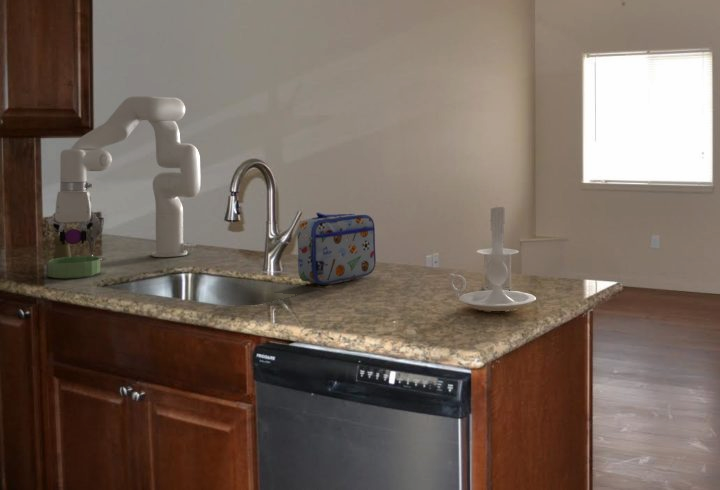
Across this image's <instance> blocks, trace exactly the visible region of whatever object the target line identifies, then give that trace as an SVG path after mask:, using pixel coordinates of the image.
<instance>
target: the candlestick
mask: <svg viewBox="0 0 720 490" xmlns="http://www.w3.org/2000/svg"><path fill="white" fill-rule="evenodd" d="M505 210H506V209H505V207H504V206H497V205H495V207H491V208H490V220H489V221H490V232H491V247H490V248H491V249H488V248H481V249H477V250H475V253H477V254H480V255H483V256H484V255H486V256H488V257H490V258H491V264H490V266H489V268H488V270H487V277H488V279H489V281H490V282H491V283H492V284H493V290H477V291H471V292H466V293H464V294H461V295H460V293H462V292H463V291H464V290H465V289H466V287H467V281H466V278H465V277H464V276H463V275H461V274H454V273H448V276H449V277H451V278H450V282H449V283H450V284H449V285H450V287H451V289H452V290H453V291H454V294H455V297H456V298H457V300H459V302H462V303H465V305H467V306H468V307H470V308H472V309H474V310H477V309H478V310H477V311H481V310H485V311H484V312H487V313H492V312H491V311H505V312H504V313H507V312H508V313H510V311H507V310H514V309H518V310H520V309H519V308H521V309H523V308H525V307H526V306H528V305H530V304H531V303H534V302H535V301H536V300H537V297H536V296H535V295H533V294H531V293H527V292H523V291H517V290H510V291H508V290H502V284H503V283H504V282H505V281H506V279H507V277H508V270H507V267H506V266H505V264H504V259H505V258H506V257H507V256H510V255H511V256H512V255H516V254H518V253H520V251H519V250H517V249H513V248H507V249H503V248H504V239H505V238H504V229H505V228H504V227H505V226H504V225H505V221H506V220H505V219H506V218H505V217H506V213H505V212H506V211H505ZM456 279H460V280H461V281H462V287H461V288H457V287H455V284H454V282H455V280H456ZM522 307H523V308H522ZM514 311H515V310H514Z"/></svg>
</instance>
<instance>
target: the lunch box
mask: <svg viewBox="0 0 720 490" xmlns="http://www.w3.org/2000/svg"><path fill="white" fill-rule="evenodd" d="M374 221H375V220H374V219H373V218H372V217H371V216H370V215H368V214H355V213H338V214H337V213H336V214H335V213H334V214H325V213H322V212H316V217H312V218H307V219H304V220H302V221H301V222H299V224H298V226H297V230H296V232H297V233H296V238H297V265H298V266H297V269H298V270H297V271H298V276H299V279H300V280H301V281H302V282H308V283H312V284H317V285H321V286H329V285H334V284H339V283H346V282H349V281H352V280H356V279H360V278H364V277H367V276H368V275H370V274H372V273H373V271H374V270H375V268H376V264H377V263H376V262H377V260H376V259H377V257H376V233H375V232H376V231H375V222H374Z"/></svg>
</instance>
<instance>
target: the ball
mask: <svg viewBox="0 0 720 490" xmlns="http://www.w3.org/2000/svg"><path fill="white" fill-rule="evenodd" d="M65 240H66V242H67V243H69V245H77V244H79V243H80V242H81V231H80V229H78V228H70V229H68V230H67V231H65Z"/></svg>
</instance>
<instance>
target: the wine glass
mask: <svg viewBox="0 0 720 490" xmlns="http://www.w3.org/2000/svg"><path fill="white" fill-rule="evenodd" d="M96 217H97V218H98V219H99V221H98V222H97V223H95V224H94V225H92V226H91V227H90V228H89V229H88V230H87V242H88V244H89V247H90V248H89V250H90V255H89V256H94V247H95V243H96V241H97V240H98V239H99V238H100V236H101V235H102V234H103V231H104V227H105V217H99V216H96ZM91 221H93V219H92V218H91V219H90V220H89V221H87V222H86V223H87V225H88V224H89V223H90V222H91ZM78 225H79V231H80V232H82V229H83V227H82V224H81V222H78ZM99 258H100V261H101V260H103V258H102V257H99Z"/></svg>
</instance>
